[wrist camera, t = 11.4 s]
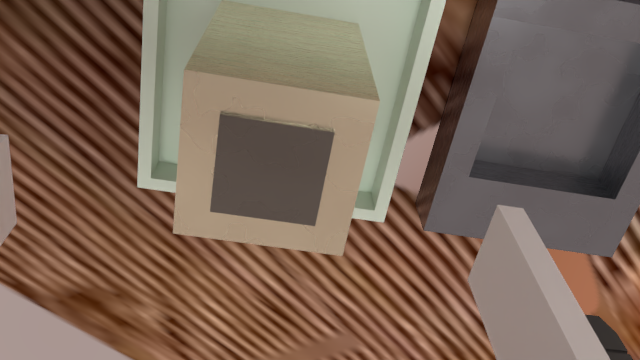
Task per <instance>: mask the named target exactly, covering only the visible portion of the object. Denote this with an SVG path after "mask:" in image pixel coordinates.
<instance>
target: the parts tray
mask: <svg viewBox="0 0 640 360" xmlns="http://www.w3.org/2000/svg"><path fill="white" fill-rule="evenodd" d="M221 1H222V0H144V1H143V31H142V61H141V91H140V121H139V150H138V180H137V187H139V188H146V189H153V190H160V191H167V192H174V193H176V179H177V165H178V150H179V135H180V120H181V105H182V90H183V75H184V68H185V67H186V65H187V63H188V61H189V59H190V57H191V56H192V54H193V52H194V50H195V48H196V47H197V45H198V43H199V41H200V39H201V37H202V36H203V34H204V32H205V30H206V28H207V26H208V25H209V23H210V21H211V19H212V17H213V16H214V14H215V12H216V10H217V8H218V6H219V5H220V3H221ZM226 1H232V2H238V3H243V4H249V5H255V6H260V7H266V8H272V9H278V10H283V11H289V12H295V13H301V14H306V15H312V16H318V17H323V18H329V19H335V20H341V21H346V22H352V23H358V24H359V27H360V31H361V34H362V38H363V41H364V45H365V49H366V52H367V56H368V59H369V63H370V67H371V70H372V74H373V77H374V81H375V84H376V88H377V92H378V95H379V99H380V104H379V108H378V112H377V116H376V120H375V125H374V129H373V133H372V137H371V141H370V145H369V149H368V153H367V157H366V161H365V166H364V170H363V174H362V178H361V182H360V186H359V190H358V194H357V198H356V202H355V206H354V211H353V215H352V218H356V219H363V220H370V221H377V222H384V220H385V216H386V213H387V209H388V206H389V202H390V198H391V195H392V191H393V188H394V184H395V181H396V177H397V174H398V170H399V166H400V163H401V159H402V156H403V152H404V149H405V145H406V142H407V138H408V134H409V131H410V127H411V124H412V120H413V117H414V113H415V110H416V106H417V102H418V99H419V95H420V92H421V88H422V85H423V81H424V77H425V74H426V70H427V67H428V63H429V60H430V56H431V53H432V49H433V45H434V42H435V38H436V35H437V31H438V28H439V24H440V21H441V17H442V13H443V10H444V6H445V3H446V0H226Z"/></svg>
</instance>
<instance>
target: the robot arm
mask: <svg viewBox="0 0 640 360" xmlns="http://www.w3.org/2000/svg"><path fill="white" fill-rule="evenodd" d="M16 223H17V218H16V208H15V198H14V188H13V178H12V168H11V158H10V148H9V138H8V135H3V134H0V246H1V244H2V243H3V242H4V240H5V239H6V237H7V236H8V235H9V233H10V232H11V230H12V229H13V227H14V226H15V225H16ZM468 282H469V285H470V287H471V290H472V293H473V296H474V298H475V301H476V304H477V307H478V309H479V312H480V315H481V318H482V320H483V323H484V326H485V329H486V331H487V334H488V337H489V340H490V342H491V345H492V348H493V351H494V353H495V356H496V359H497V360H633V359H632V358H631V356H630V355H629V354H627V349H626V348H625V346H624V345H623V343H622V341H621V340H620V338H619V336H618V335H617V333H616V332H615V331H614V330H613V329H612V328H611V327H609V326H608V325H607V324H606V323H605V322H604V321H603V320H602V319H601V318H600V317H599V316H592V315H584V313H583V311H582V309H581V308H580V306H579V304H578V302H577V301H576V299H575V297H574V295H573V294H572V292H571V290H570V289H569V287H568V285H567V283H566V282H565V280H564V278H563V276H562V275H561V273H560V271H559V269H558V268H557V266H556V264H555V262H554V261H553V259H552V257H551V255H550V254H549V252H548V250H547V248H546V247H545V245H544V243H543V241H542V240H541V238H540V236H539V235H538V233H537V231H536V229H535V228H534V226H533V224H532V222H531V221H530V219H529V217H528V215H527V214H526V212H525V210H524V208H518V207H511V206H504V205H497V207H496V210H495V212H494V215H493V217H492V220H491V222H490V225H489V227H488V230H487V232H486V235H485V237H484V240H483V242H482V245H481V247H480V250H479V252H478V255H477V257H476V260H475V262H474V265H473V267H472V270H471V272H470V275H469V277H468Z"/></svg>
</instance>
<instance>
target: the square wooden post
mask: <svg viewBox="0 0 640 360" xmlns="http://www.w3.org/2000/svg"><path fill="white" fill-rule="evenodd" d="M379 104H380V99H379V95H378V92H377V88H376V84H375V81H374V77H373V74H372V70H371V67H370V63H369V59H368V56H367V52H366V49H365V45H364V41H363V38H362V34H361V31H360V27H359V24H358V23H352V22H346V21H341V20H335V19H329V18H323V17H318V16H312V15H306V14H301V13H295V12H289V11H283V10H278V9H272V8H266V7H260V6H255V5H249V4H243V3H238V2H232V1H226V0H222V1H221V3H220V5H219V6H218V8H217V10H216V12H215V14H214V16H213V17H212V19H211V21H210V23H209V25H208V26H207V28H206V30H205V32H204V34H203V36H202V37H201V39H200V41H199V43H198V45H197V47H196V48H195V50H194V52H193V54H192V56H191V57H190V59H189V61H188V63H187V65H186V67H185V68H184V75H183V90H182V105H181V120H180V135H179V150H178V165H177V179H176V194H175V209H174V224H173V233H174V234H182V235H189V236H197V237H204V238H212V239H219V240H227V241H234V242H241V243H249V244H256V245H264V246H271V247H279V248H286V249H294V250H301V251H309V252H316V253H324V254H331V255H339V256H343V252H344V247H345V243H346V239H347V235H348V231H349V227H350V223H351V219H352V215H353V211H354V206H355V202H356V198H357V194H358V190H359V186H360V182H361V178H362V174H363V170H364V166H365V161H366V157H367V153H368V149H369V145H370V141H371V137H372V133H373V129H374V125H375V120H376V116H377V112H378V108H379Z"/></svg>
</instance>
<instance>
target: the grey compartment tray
mask: <svg viewBox="0 0 640 360" xmlns="http://www.w3.org/2000/svg"><path fill="white" fill-rule="evenodd" d="M497 205H504V206H511V207H518V208H524V210H525V212H526V214H527V215H528V217H529V219H530V221H531V222H532V224H533V226H534V228H535V229H536V231H537V233H538V235H539V236H540V238H541V240H542V241H543V243H544V245H545V247H546V248H550V249H558V250H564V251H572V252H579V253H586V254H593V255H600V256H607V257H612V256H613V254H614V252H615V250H616V248H617V247H618V245H619V243H620V241H621V239H622V237H623V235H624V233H625V231H626V229H627V228H628V226H629V224H630V222H631V220H632V218H633V216H634V214H635V212H636V211H637V209H638V207H639V205H640V0H478V2H477V5H476V8H475V11H474V15H473V18H472V21H471V25H470V28H469V31H468V34H467V38H466V41H465V44H464V47H463V51H462V54H461V57H460V60H459V64H458V67H457V70H456V73H455V77H454V80H453V83H452V86H451V90H450V93H449V96H448V99H447V103H446V106H445V109H444V112H443V116H442V119H441V122H440V125H439V129H438V132H437V135H436V138H435V142H434V145H433V149H432V152H431V155H430V158H429V161H428V165H427V168H426V171H425V175H424V178H423V181H422V184H421V187H420V191H419V194H418V197H417V200H416V207H417V210H418V214H419V217H420V220H421V224H422V227H423V230H424V231H431V232H438V233H445V234H452V235H459V236H466V237H473V238H480V239H484V237H485V235H486V232H487V230H488V227H489V225H490V222H491V220H492V217H493V215H494V212H495V210H496V207H497Z"/></svg>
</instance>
